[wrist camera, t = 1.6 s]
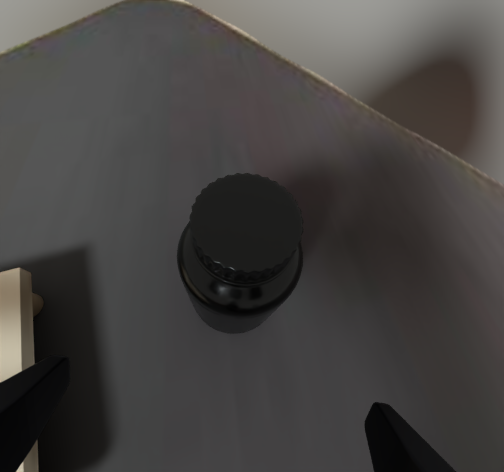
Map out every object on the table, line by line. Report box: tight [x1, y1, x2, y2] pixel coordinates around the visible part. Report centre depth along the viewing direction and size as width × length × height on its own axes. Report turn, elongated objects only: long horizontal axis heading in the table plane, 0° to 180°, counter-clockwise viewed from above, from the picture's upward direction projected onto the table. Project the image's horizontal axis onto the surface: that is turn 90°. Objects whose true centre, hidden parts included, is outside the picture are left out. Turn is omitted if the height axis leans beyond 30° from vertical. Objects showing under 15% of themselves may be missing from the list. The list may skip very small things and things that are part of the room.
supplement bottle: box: [177, 173, 303, 334], centre depth 16 cm, size 7×7×12 cm
